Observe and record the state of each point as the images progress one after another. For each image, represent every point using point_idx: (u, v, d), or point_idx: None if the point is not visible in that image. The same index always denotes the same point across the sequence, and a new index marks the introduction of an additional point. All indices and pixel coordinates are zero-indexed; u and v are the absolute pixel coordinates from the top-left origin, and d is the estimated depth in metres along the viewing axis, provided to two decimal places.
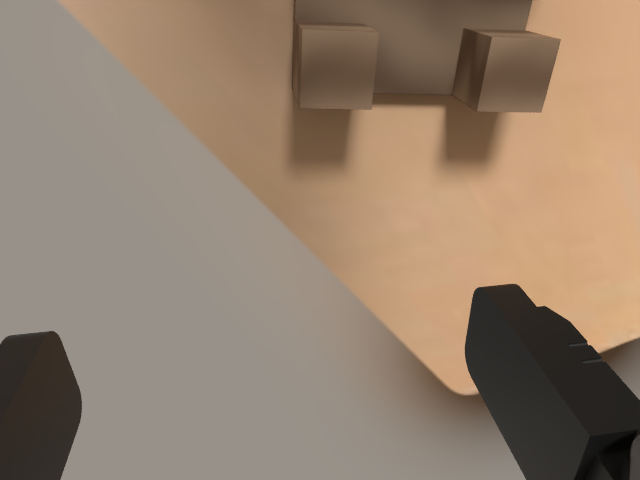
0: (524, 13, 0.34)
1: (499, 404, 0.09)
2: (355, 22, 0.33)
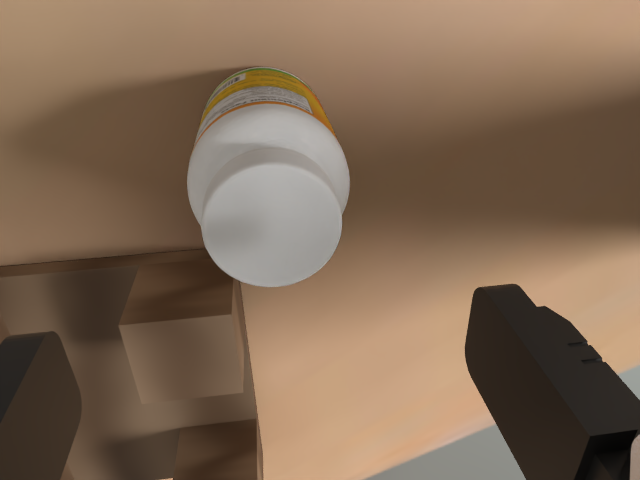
0: None
1: (499, 404, 0.09)
2: None
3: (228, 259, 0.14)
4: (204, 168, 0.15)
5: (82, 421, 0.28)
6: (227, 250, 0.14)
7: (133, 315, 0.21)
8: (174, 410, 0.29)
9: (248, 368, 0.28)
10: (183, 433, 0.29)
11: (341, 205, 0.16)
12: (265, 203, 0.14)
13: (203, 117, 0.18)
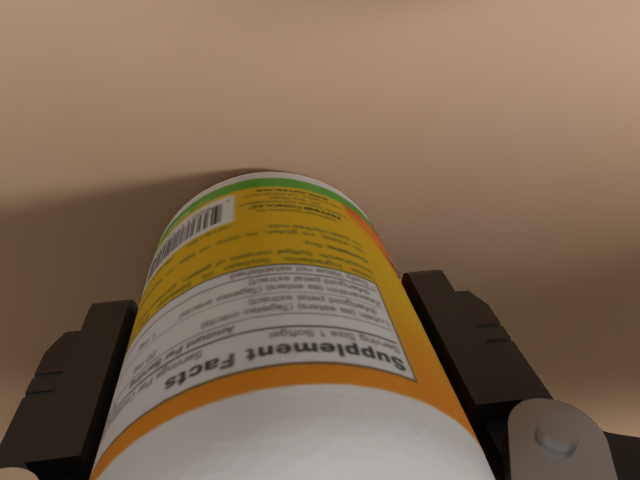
0: None
1: None
2: None
3: None
4: None
5: None
6: None
7: None
8: None
9: None
10: None
11: None
12: None
13: (139, 315, 0.08)
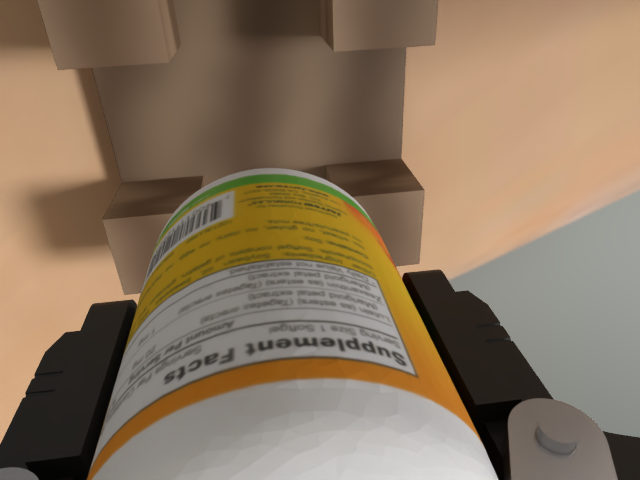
0: None
1: None
2: (179, 33, 0.25)
3: None
4: None
5: (231, 147, 0.28)
6: None
7: None
8: (323, 140, 0.28)
9: (403, 87, 0.27)
10: (330, 167, 0.29)
11: None
12: None
13: (139, 311, 0.08)
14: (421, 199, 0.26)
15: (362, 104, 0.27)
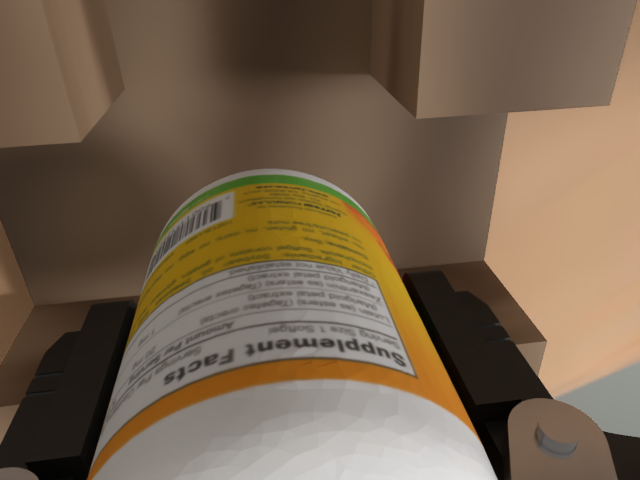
0: None
1: None
2: (121, 70, 0.14)
3: None
4: None
5: None
6: None
7: None
8: None
9: (498, 156, 0.17)
10: None
11: None
12: None
13: (139, 312, 0.08)
14: (539, 354, 0.15)
15: (431, 182, 0.17)
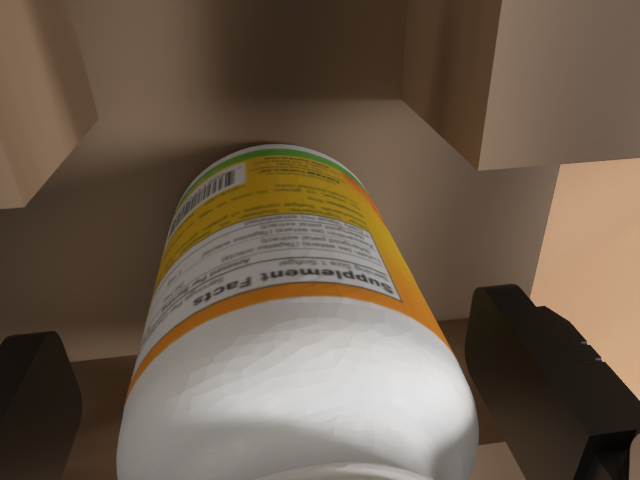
0: None
1: (498, 404, 0.09)
2: (94, 96, 0.11)
3: None
4: (152, 469, 0.06)
5: None
6: None
7: None
8: None
9: (551, 193, 0.14)
10: None
11: None
12: None
13: (164, 263, 0.09)
14: None
15: (469, 225, 0.14)
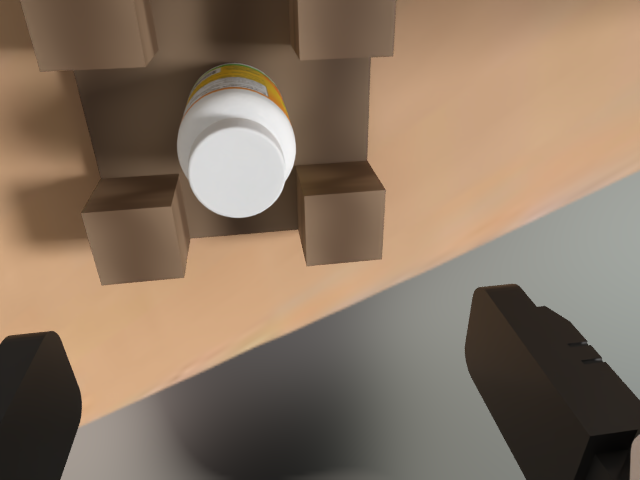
0: (206, 232, 0.32)
1: (499, 404, 0.09)
2: (157, 39, 0.26)
3: (206, 196, 0.20)
4: (189, 134, 0.21)
5: None
6: (205, 189, 0.20)
7: None
8: None
9: (368, 94, 0.29)
10: (300, 167, 0.30)
11: (289, 163, 0.23)
12: (231, 155, 0.20)
13: (188, 100, 0.25)
14: (382, 198, 0.28)
15: (330, 109, 0.29)
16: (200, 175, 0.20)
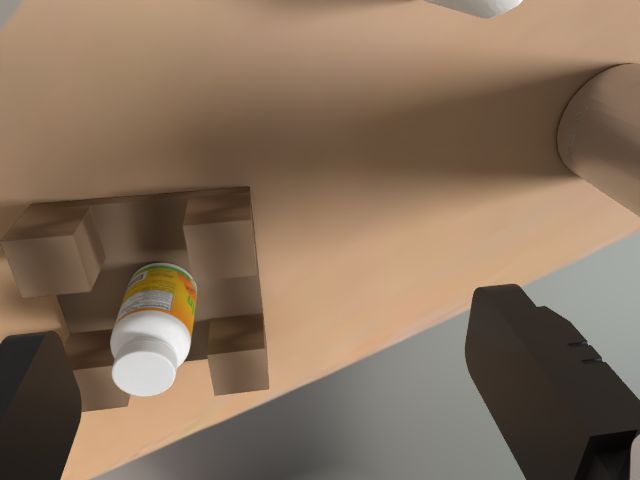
0: None
1: (499, 404, 0.09)
2: (104, 251, 0.38)
3: (125, 386, 0.33)
4: (116, 342, 0.34)
5: None
6: (124, 383, 0.33)
7: (190, 221, 0.34)
8: (206, 305, 0.42)
9: (257, 273, 0.41)
10: (212, 321, 0.42)
11: (184, 352, 0.35)
12: (138, 365, 0.32)
13: (123, 300, 0.37)
14: (263, 353, 0.40)
15: (231, 284, 0.41)
16: (119, 376, 0.32)
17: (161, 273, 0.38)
